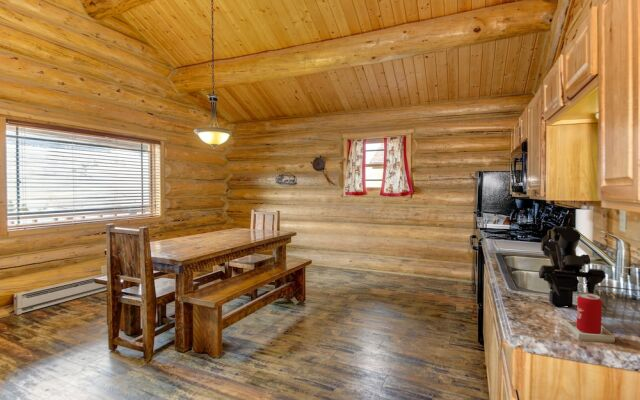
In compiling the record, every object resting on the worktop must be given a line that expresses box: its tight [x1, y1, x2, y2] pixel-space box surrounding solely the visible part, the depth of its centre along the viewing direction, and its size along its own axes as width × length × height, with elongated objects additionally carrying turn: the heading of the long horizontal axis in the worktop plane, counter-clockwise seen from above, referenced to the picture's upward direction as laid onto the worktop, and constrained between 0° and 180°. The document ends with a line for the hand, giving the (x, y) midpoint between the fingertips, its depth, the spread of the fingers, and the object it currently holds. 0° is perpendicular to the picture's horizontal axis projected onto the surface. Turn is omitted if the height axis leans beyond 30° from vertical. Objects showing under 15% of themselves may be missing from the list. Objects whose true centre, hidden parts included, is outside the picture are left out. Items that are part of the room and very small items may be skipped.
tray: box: [564, 320, 616, 344], centre depth 111 cm, size 10×10×2 cm
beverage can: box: [576, 292, 603, 334], centre depth 111 cm, size 6×6×12 cm
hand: (575, 296), depth 119 cm, fingers open, 9 cm apart
